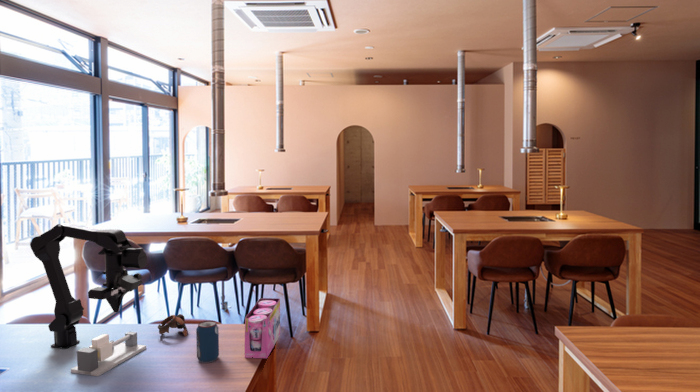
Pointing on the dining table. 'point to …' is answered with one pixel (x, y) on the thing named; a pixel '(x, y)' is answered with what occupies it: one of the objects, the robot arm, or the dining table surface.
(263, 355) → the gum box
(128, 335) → the slider rail board
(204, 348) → the soda can
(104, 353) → the white slider block
